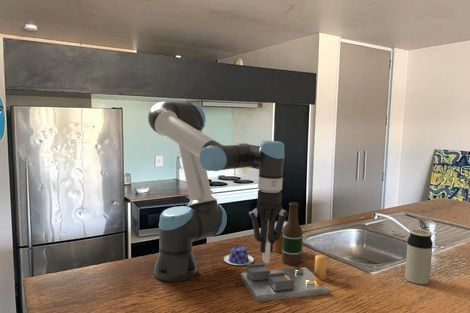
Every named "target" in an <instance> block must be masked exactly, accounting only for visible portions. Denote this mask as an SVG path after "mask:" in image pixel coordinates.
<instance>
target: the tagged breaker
mask: <svg viewBox="0 0 470 313" xmlns="http://www.w3.org/2000/svg"><path fill="white" fill-rule="evenodd" d="M268 282H269V284H270V285H271V286H272V287H273V289H274V290H275V291H277V290H287V289H294V279H292V280H291V279H290V277H289V276H288V275H287V272H281V273H270V274H268Z"/></svg>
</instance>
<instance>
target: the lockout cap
mask: <svg viewBox="0 0 470 313" xmlns="http://www.w3.org/2000/svg"><path fill="white" fill-rule="evenodd" d="M327 260H328V257H327V255H324V254H316V255H315V256H314V273H313V274H314V275H315V276H316V277H317V278H318V279H320V280H321V281H325V280H326V277H327V274H326V273H327Z"/></svg>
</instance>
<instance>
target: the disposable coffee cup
mask: <svg viewBox="0 0 470 313" xmlns="http://www.w3.org/2000/svg"><path fill="white" fill-rule="evenodd" d="M277 221H278V220H277ZM277 221H276V222H275V227H276V224H277ZM287 222H288V220H287V221H286V220H285V221H284V224H283V228H282V231H281V234H280V238H279V240H278V241H274V242H275V243H274V244H273V248H274V252H276V253H278V254H282V242H283V229H284V227H285V225H286V224H287ZM274 231H275V230H274Z"/></svg>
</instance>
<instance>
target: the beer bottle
mask: <svg viewBox="0 0 470 313" xmlns="http://www.w3.org/2000/svg"><path fill="white" fill-rule="evenodd" d="M288 206H289V209H288V210H289V211H288V219H287V224H286V225H285V227H284V229H283V242H282V253H281V261H282V262H283V264H284V265H288V266H298V265H299V264H301V263H302V256H303V254H302V252H303V250H302V249H303V230H302V227H301V226H300V224H299V209H298V208H299V203H298V202H295V201H292V202H289V204H288Z"/></svg>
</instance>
